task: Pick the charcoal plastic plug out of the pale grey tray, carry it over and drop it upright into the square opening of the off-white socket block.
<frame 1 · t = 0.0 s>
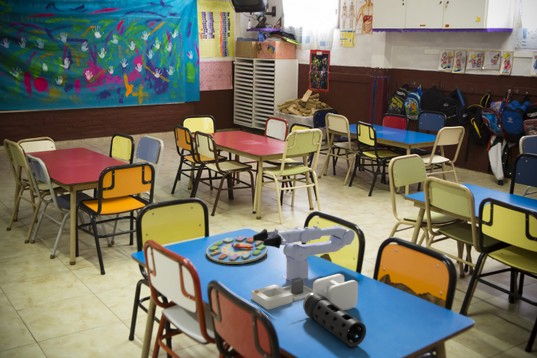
hand: (258, 240, 243), 22 cm above the table, tool horizontal, fingers open, 7 cm apart
cable organizer: (334, 307, 231), on the table
socket block: (271, 301, 235), on the table
tray: (297, 294, 243), on the table
plug: (297, 292, 242), point 1 cm above the table, touching tray
muzzle brake: (332, 332, 211), on the table
shape sorting clock: (237, 255, 289), on the table
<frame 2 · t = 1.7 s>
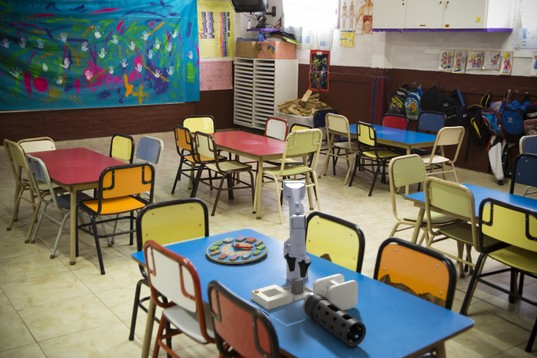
hand: (297, 274, 240), 9 cm above the table, tool pointing down, fingers open, 7 cm apart
nothing on the table moved.
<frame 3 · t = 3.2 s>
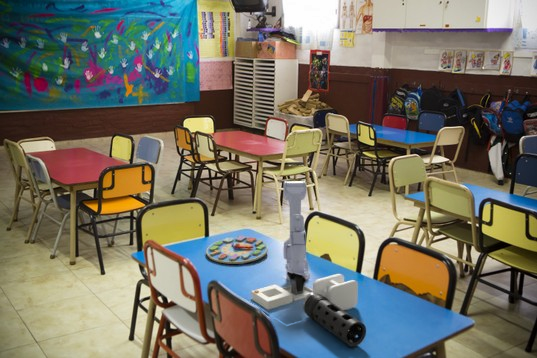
hand: (297, 289, 242), 2 cm above the table, tool pointing down, fingers closed on plug, 3 cm apart
plug: (297, 292, 242), point 1 cm above the table, touching gripper, tray
everything else where it was.
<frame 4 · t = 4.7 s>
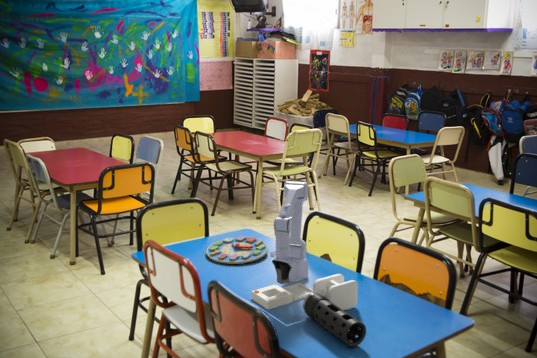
hand: (282, 278, 236), 9 cm above the table, tool pointing down, fingers closed on plug, 3 cm apart
plug: (283, 282, 237), point 7 cm above the table, touching gripper
everything else where it was.
when the fingers open (5 cm above the table, at t = 6.6 s): plug drops 3 cm, resting in socket block.
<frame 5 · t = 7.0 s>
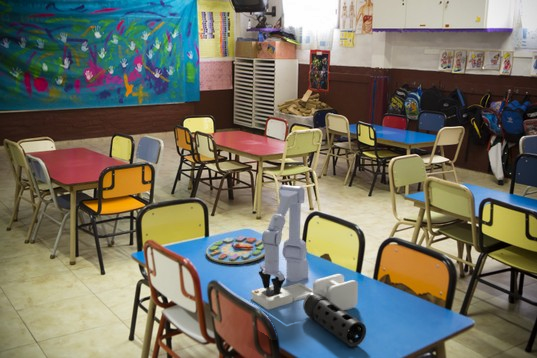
hand: (271, 291, 234), 5 cm above the table, tool pointing down, fingers open, 7 cm apart
plug: (272, 301, 236), resting in socket block
everything else where it was.
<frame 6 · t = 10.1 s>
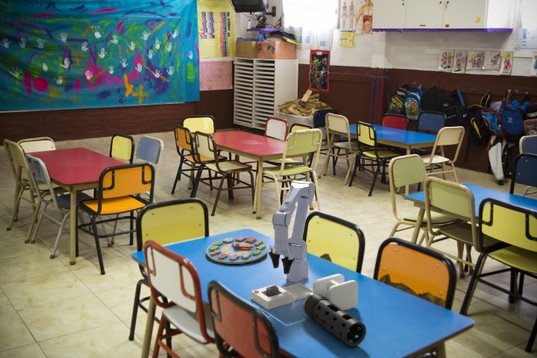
hand: (281, 270, 243), 9 cm above the table, tool pointing down, fingers open, 7 cm apart
nothing on the table moved.
at the end: plug 0.3 cm off-centre on the socket block, point 0.0 cm above the socket block's base; plug tilted 0°; the gripper is holding nothing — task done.
